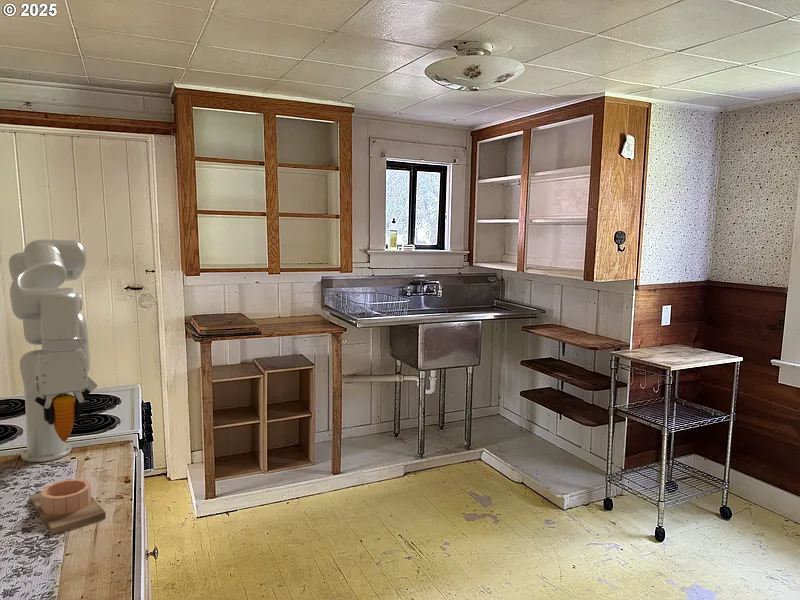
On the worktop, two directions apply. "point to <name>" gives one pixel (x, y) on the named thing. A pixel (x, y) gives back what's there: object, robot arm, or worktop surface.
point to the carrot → (63, 414)
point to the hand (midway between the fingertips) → (63, 419)
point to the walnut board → (68, 516)
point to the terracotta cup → (65, 496)
